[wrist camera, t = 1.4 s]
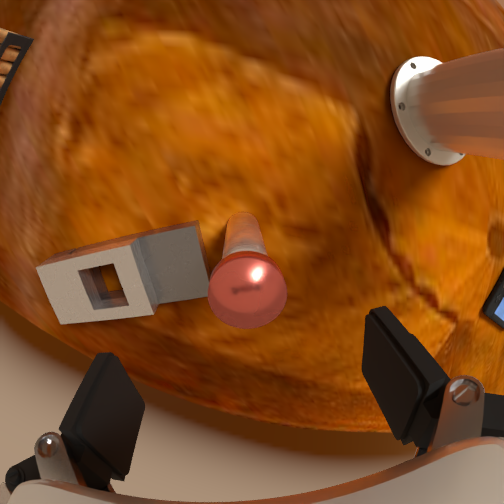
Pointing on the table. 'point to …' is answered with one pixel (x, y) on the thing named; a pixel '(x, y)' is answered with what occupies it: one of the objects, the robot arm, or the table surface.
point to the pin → (246, 278)
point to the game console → (496, 303)
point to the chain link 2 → (166, 263)
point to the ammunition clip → (11, 56)
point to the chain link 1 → (84, 290)
